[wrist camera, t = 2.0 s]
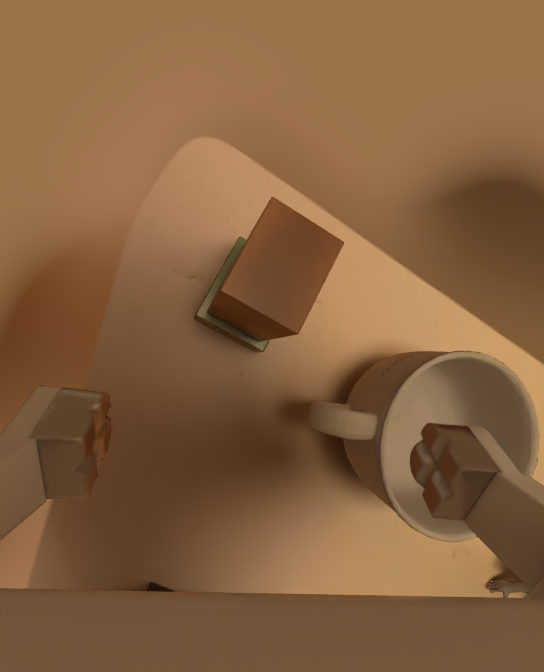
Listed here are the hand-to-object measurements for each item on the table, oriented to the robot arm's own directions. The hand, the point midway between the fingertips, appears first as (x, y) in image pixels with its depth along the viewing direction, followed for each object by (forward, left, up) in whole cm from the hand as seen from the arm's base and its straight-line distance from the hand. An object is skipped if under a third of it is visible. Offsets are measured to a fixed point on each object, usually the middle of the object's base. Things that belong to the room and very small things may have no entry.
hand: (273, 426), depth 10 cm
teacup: (+12, +3, -17) cm, 21 cm away
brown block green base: (-1, +6, -17) cm, 18 cm away
